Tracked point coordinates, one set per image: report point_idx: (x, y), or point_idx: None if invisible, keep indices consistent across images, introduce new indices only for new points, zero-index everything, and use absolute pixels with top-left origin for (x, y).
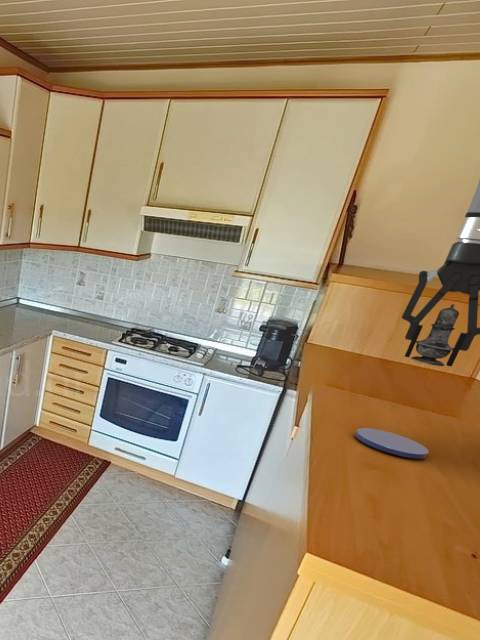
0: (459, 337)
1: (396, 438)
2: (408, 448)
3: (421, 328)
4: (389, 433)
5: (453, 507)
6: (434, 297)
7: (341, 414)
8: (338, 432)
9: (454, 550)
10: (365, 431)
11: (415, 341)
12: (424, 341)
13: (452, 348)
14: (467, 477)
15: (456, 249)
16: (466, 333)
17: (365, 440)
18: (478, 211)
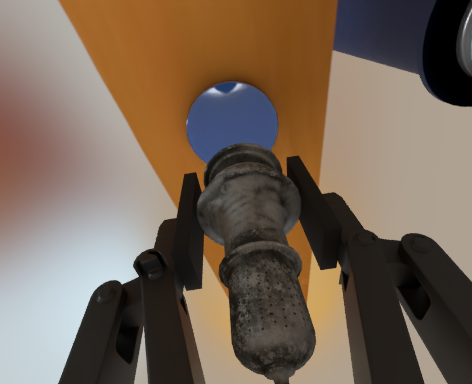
0: (315, 247)
1: (235, 110)
2: (256, 142)
3: (201, 282)
4: (221, 93)
5: (302, 233)
6: None
7: (111, 4)
8: (170, 143)
9: (301, 285)
10: (197, 130)
11: (202, 240)
12: (223, 239)
13: (297, 212)
14: (319, 138)
15: None
16: (338, 253)
17: None
18: None
